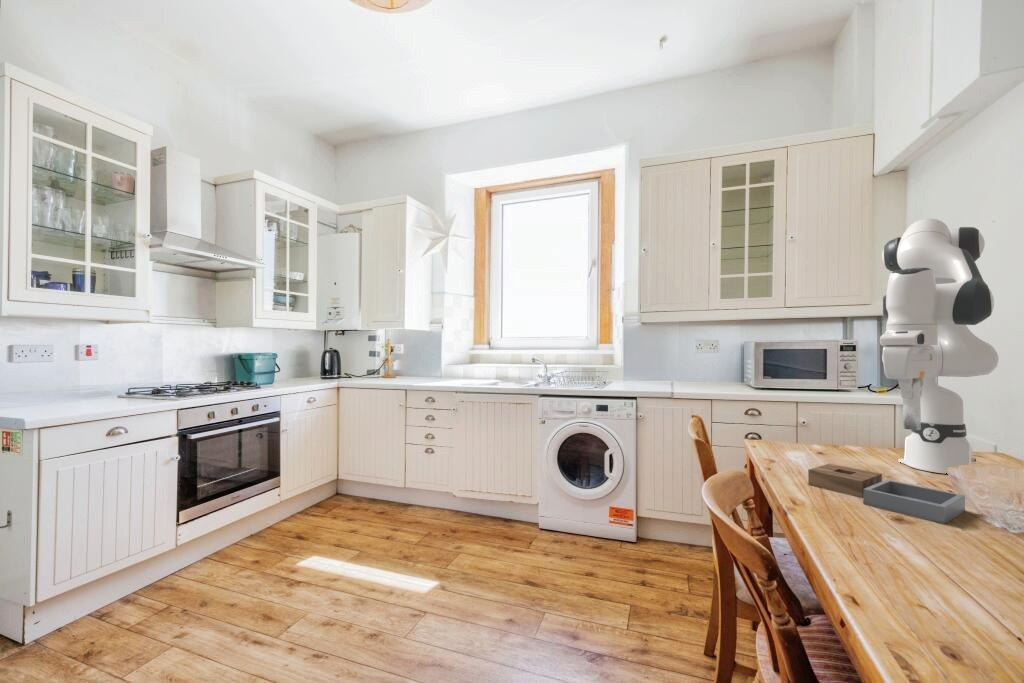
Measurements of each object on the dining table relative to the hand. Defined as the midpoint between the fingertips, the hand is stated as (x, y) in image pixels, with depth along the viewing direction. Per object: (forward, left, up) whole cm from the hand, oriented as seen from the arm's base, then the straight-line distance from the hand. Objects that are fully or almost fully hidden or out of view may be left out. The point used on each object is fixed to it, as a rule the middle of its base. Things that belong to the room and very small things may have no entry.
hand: (911, 397), depth 102 cm
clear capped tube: (0, 0, -7) cm, 7 cm away
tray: (0, 0, -25) cm, 25 cm away
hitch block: (-4, -15, -25) cm, 29 cm away
